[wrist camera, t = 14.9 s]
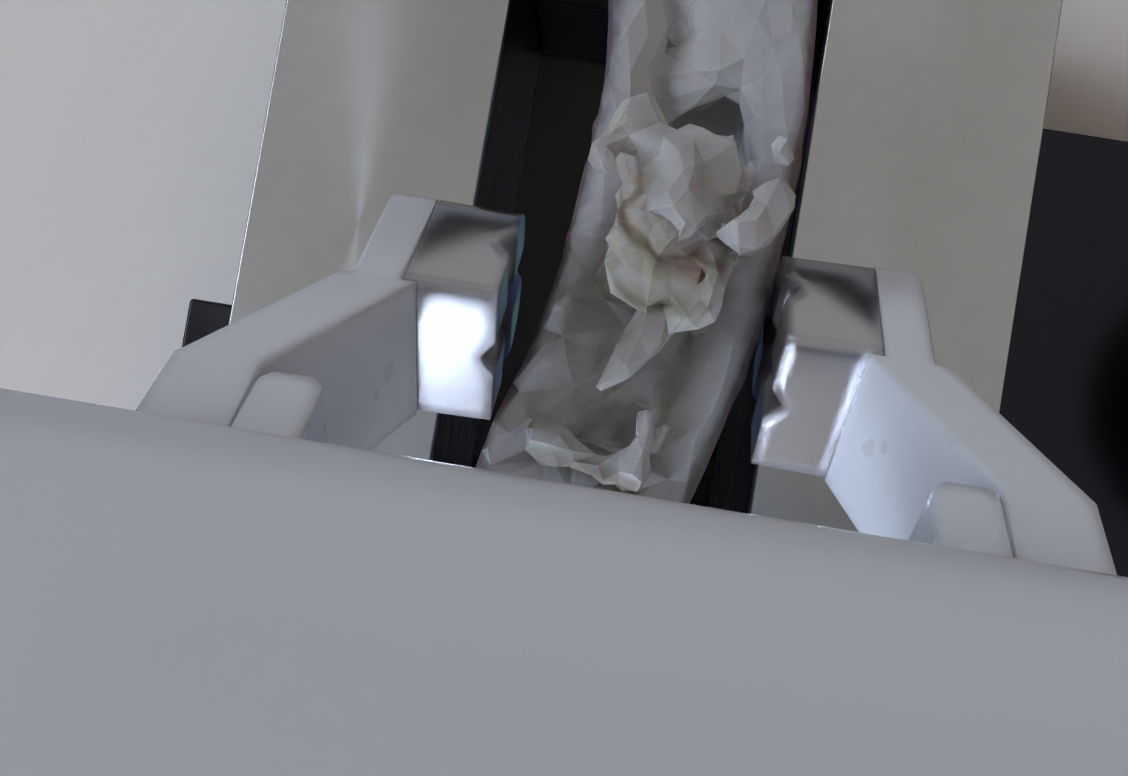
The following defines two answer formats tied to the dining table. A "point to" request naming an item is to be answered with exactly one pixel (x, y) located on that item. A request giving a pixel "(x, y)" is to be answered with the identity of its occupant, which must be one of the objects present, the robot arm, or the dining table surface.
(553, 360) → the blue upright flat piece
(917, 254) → the glossy black box
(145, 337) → the dining table surface
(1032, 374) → the control block
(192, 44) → the dining table surface
